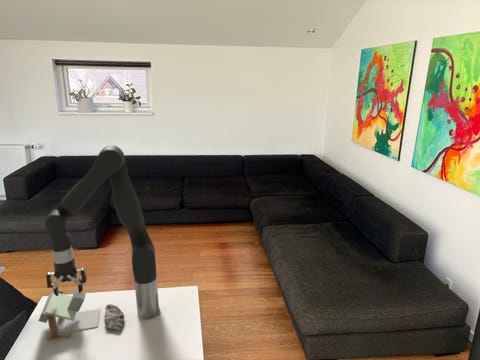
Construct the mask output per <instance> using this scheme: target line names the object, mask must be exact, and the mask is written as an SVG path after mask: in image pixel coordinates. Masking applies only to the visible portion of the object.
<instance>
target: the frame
mask: <svg viewBox="0 0 480 360" xmlns="http://www.w3.org/2000/svg"><path fill="white" fill-rule="evenodd" d="M58 290H59V293H62V294H64V289H58ZM76 312H77V311H76ZM47 317H48V321H47V323H48V327H49V328H48V329H49V333H50V335H48V336H47V341H48V342H50V341H55V340H61V339H66V338H71V336H72V335H71V333H72V332H68V333H60V334H59V329H58V325H57V319H56V318H57V317H55V313H49V314H47Z"/></svg>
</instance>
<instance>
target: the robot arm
mask: <svg viewBox="0 0 480 360" xmlns="http://www.w3.org/2000/svg"><path fill="white" fill-rule="evenodd" d="M128 171H129V170H128V166H127V163H126V158H125V153H124V151H123V150H122V149H121V148H120V147H118V146H117V145H114V144H110V145H106V146H104V147H103V148H102V149H101V150H100V151H99V152H98V155H97V157H96V159H95V161H94V163H93V165H92V166H91V168H90V169H89V171H88V172H87V173H86V174H85V175H84V176H83V178H81V179H80V180H79V181H78V182H76V184H75V185H74V186H73V187H71V189H70V190H69V191H68V193H67V194H65V196H64V197H63V199H62V200H61V202H60V203H59V202H58V204H57V205H56V206H55V207H54V208H53V209H52V211H51V212H49V214H48V215H47V217H46V218H45V220H44V228H45V231H46V234H47V237H48V238H49V240H50V245H51V259H52V263H53V269H54V272H51V271H48V272H47V273H46V278H45V279H46V287H47V289H50V288H51V289H52V290H53V292H54V295H56V296H58V295H59V290H60V289H59V286H58V285H59V284H60V282H62V283H65V282H73V283H76V284H77V288H78V289H77V291H79V293H81V292H83V290H84V287H83V286H84V285H83V284H86V282H87V279H88V278H87V277H88V276H87V273H86V269H85V267H84V266H82V267H81V268H79V269H77V266H76V262H75V253H74V249H73V245H72V239H71V238H72V237H71V235H70V233H69V232H67V228H66V227H67V226H66V225H67V223H68V222H69V221H70V220H71V219H72V217H73V216H74V214H75V213H76V212H78V211H79V210H80V209H81V208H82V207H83V206H84V205H85V204H86V202H88V200H89V199H90V198H91V197H92V195H93V194H94V193H95V191H96V190H97V189H98V188H99V187H100V186H101V185H102V184H103V183H104V182H105V181H106V180H107V179H108V178H109V182H110V185H111V192H112V193H111V195H112V200H113V205H114V208H115V210H116V213H117V217H118V219H119V221H120V222H121V224H122V226H123V228H124V229H125V230H126V232H127V234H128V236H129V240H130V245H131V251H132V252H131V266H132V273H133V274H132V275H133V280H134V290H135V292H134V293H135V300H136V302H135V303H136V311H137V316H138V317H139V318H140V319H143V320H151V319H153V318H155V317H156V316H160V304H159V303H160V301H159V290H158V278H157V263H156V251H155V250H156V249H155V246H154V244H153V241H152V239H151V237H150V235H149V233H148V231H147V228H146V224H145V218H144V214H143V211H142V207H141V205H140V201H139V199H138V195H137V193H136V190H135V188H134V186H133V183H132V181H131V179H130V175H129V172H128ZM77 273H78V274H79V275H81V278H80V276H79V275H78V274H77ZM53 277H54V278H55V281H54V282H53V281H52V279H53Z"/></svg>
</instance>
